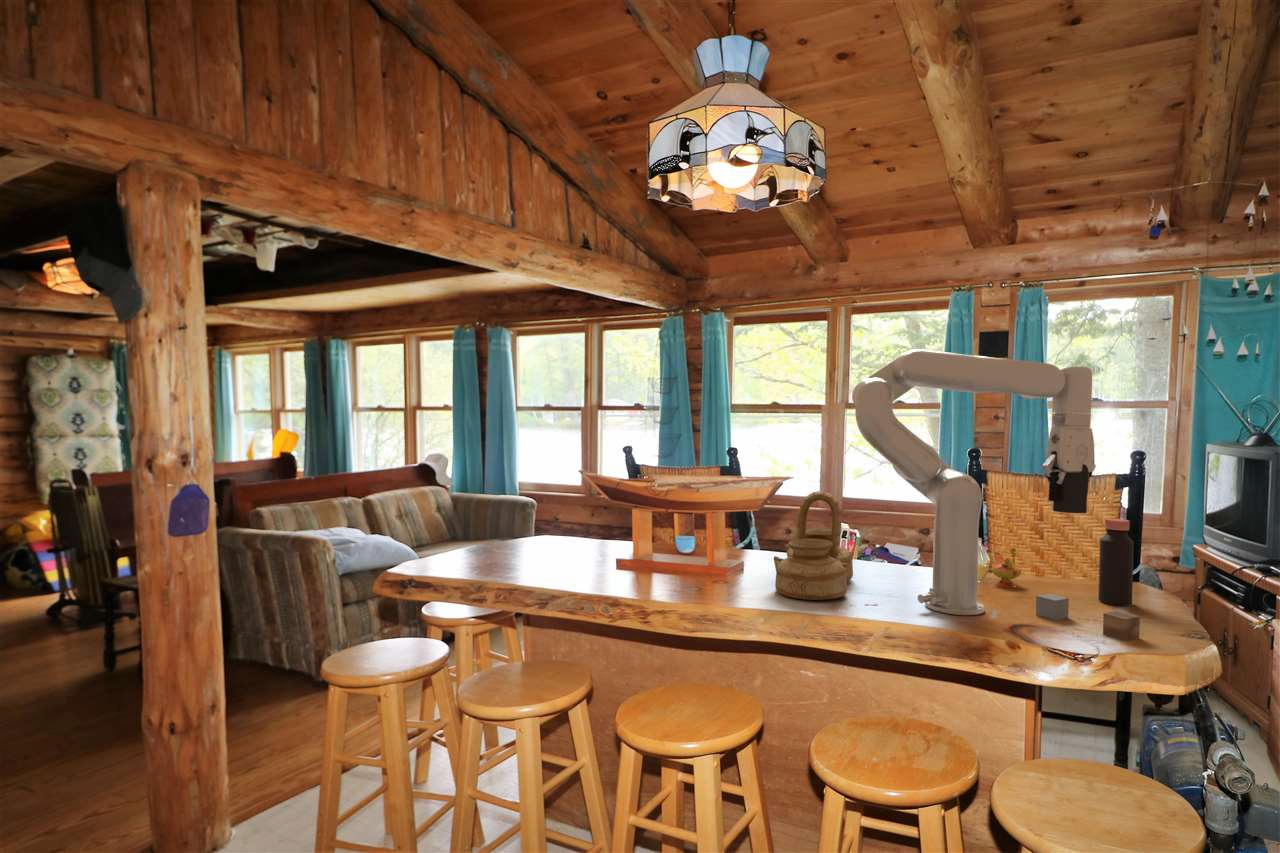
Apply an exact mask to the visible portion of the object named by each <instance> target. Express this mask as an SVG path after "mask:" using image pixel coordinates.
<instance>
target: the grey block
mask: <svg viewBox="0 0 1280 853" xmlns="http://www.w3.org/2000/svg"><path fill="white" fill-rule="evenodd" d="M1035 599H1036V600H1035V605H1036V606H1035V616H1037V615H1039V616H1038V617H1041V616H1042V617H1041V618H1044V617H1045V619H1048V618H1049V619H1048V620H1051V621H1060V620H1066V619H1065V618H1067V619H1069V606H1070V605H1069V603H1070V602H1069V601H1070V599H1069V598H1068V597H1066V596H1065V597H1064V596H1061V595H1057V594H1053V593H1045V594H1039V595H1036V597H1035Z"/></svg>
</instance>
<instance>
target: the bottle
mask: <svg viewBox="0 0 1280 853" xmlns="http://www.w3.org/2000/svg"><path fill="white" fill-rule="evenodd" d="M1104 528H1105V532H1106V533H1105V534H1104V535H1103V536H1102V537H1101V538H1100V540H1099V561H1098V562H1099V563H1098V564H1099V566H1098V567H1099V568H1098V572H1099V573H1098V578H1099V579H1098V601H1099V602H1100V603H1102V604H1106V605H1109V606H1115V607H1117V606H1118V607H1129V606H1131V605H1132V604H1133V588H1134V587H1133V585H1134V584H1133V581H1134V577H1133V576H1134V548H1135V547H1134V544H1135V542H1134V541H1133V539H1131V538H1130V536H1128V533H1129V532H1130V520H1128V519H1124V518H1123V519H1122V518H1113V517H1112V518H1111V517H1110V518H1105V519H1104Z"/></svg>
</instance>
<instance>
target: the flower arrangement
mask: <svg viewBox="0 0 1280 853" xmlns="http://www.w3.org/2000/svg"><path fill="white" fill-rule="evenodd" d="M1016 550H1017V549H1016V548H1015V547H1013V548H1011V549H1010V550H1009V551H1010V553H1011V556H1012V561H1011V560H1010V558H1009V557H1006V558H1004V557H1003V555H1002V554H1001V552H996V551H995V552H993V558H994V559H993V560H994V564H993V566H992V567H991V572H992V573H993V575H995V576H996V577H997V578H1000V580H999V581H997V582H995V583H996V584H997V585H996V584H995V585H996V586H998V585H1000V586H999V587H1002V586H1008V587H1007V588H1015V587H1014V586H1016V587H1017V584H1016V583H1013V581H1012V580H1014V579H1016V578H1019V577H1020V575H1021V569H1019V568H1018V567H1016V562H1015V558H1016V555H1017V553H1016V552H1017V551H1016Z"/></svg>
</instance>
